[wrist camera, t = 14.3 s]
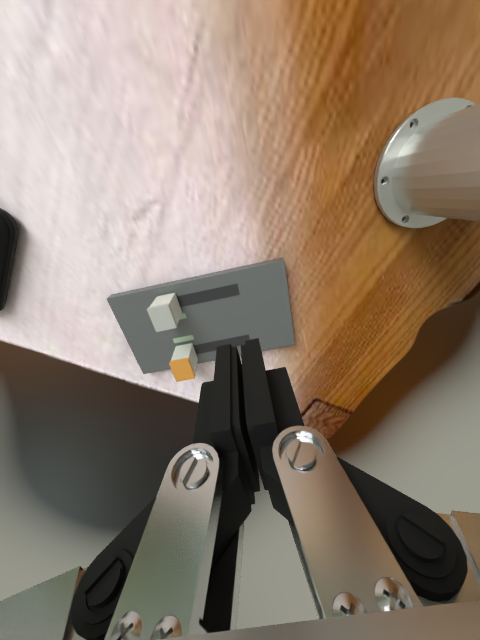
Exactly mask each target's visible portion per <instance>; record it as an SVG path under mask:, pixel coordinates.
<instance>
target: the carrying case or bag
mask: <svg viewBox="0 0 480 640" xmlns="http://www.w3.org/2000/svg"><path fill="white" fill-rule="evenodd" d="M17 239H18V226H17V224H16V222H15V220H14V219H13V217H12V216H11V215H10V214H9V213H7V212H6V211H4V210H3V209H1V208H0V311H1V310H2V309H3V308H4V306H5V303H6V298H7V293H8V288H9V282H10V277H11V271H12V266H13V261H14V255H15V250H16V245H17Z"/></svg>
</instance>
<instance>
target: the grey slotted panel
mask: <svg viewBox="0 0 480 640" xmlns="http://www.w3.org/2000/svg"><path fill="white" fill-rule="evenodd" d="M171 293H175V294H176V297H177V299H178V302H179V305H180V308H181V311H182V314H181V317H180V319H179V322H178V324H177V325H178V326H177V328H174V329H169V330H164V331H159V332H156V330H155V328H154V326H153V323H152V321H151V319H150V316H149V314H148V311H147V309H148V307H150V305H151V304H152V303H153V301H154V300H155V298H156V297H157V296H161V295H166V294H171ZM107 301H108V303H109V305H110V307H111V309H112V311H113V313H114V315H115V317H116V319H117V321H118V323H119V325H120V327H121V329H122V331H123V333H124V335H125V337H126V339H127V341H128V343H129V345H130V348H131V350H132V352H133V354H134V356H135V358H136V360H137V362H138V364H139V366H140V368H141V370H142V372H143V374H146V373H151V372H156V371H161V370H167V369H171V367H170V365H169V363H170V361H171V358H172V356H173V353H174V350H175V347H176V346H180V345H184V344H189V343H192V344H193V346H194V349H195V352H196V355H197V358H198V362H197V363H202V362H207V361H213V360H216V350H217V346H221V345H226V344H231V345H232V347H234V346H237V349H238V352H239V355H241V345H245V344H246V343H245V341H246V340H251V339H256V338H259V342H260V346H261V351H264V350H269V349H274V348H279V347H284V346H289V345H294V344H295V341H294V333H293V325H292V317H291V310H290V302H289V294H288V286H287V278H286V270H285V262H284V260H283V258H279V259H274V260H270V261H265V262H260V263H256V264H251V265H247V266H242V267H237V268H233V269H228V270H223V271H219V272H214V273H210V274H205V275H200V276H196V277H191V278H187V279H182V280H177V281H173V282H168V283H164V284H159V285H154V286H150V287H145V288H140V289H136V290H131V291H127V292H122V293H117V294H113V295H111V296H109V297H108V298H107Z"/></svg>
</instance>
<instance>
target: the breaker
mask: <svg viewBox="0 0 480 640" xmlns="http://www.w3.org/2000/svg"><path fill="white" fill-rule="evenodd" d="M147 311H148V314H149V316H150V319H151V321H152V323H153V326H154V328H155V330H156V332H159V331H164V330H169V329H174V328H177V326H178V325H177V324H178V322H179V319H180V317H181V314H182V311H181V308H180V305H179V302H178V299H177V297H176V294H175V293H171V294H166V295H161V296H157V297H156V298H155V300H154V301H153V303H152V304H151V305H150V307H148V309H147Z"/></svg>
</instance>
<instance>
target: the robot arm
mask: <svg viewBox="0 0 480 640" xmlns="http://www.w3.org/2000/svg"><path fill="white" fill-rule="evenodd" d="M410 125H411V126H410ZM381 180H382V183H381ZM374 194H375V199H376V202H377V205H378V207H379V209H380V211H381V212H382V214H383V215H384V216H385V217H386V218H387V219H388V220H389V221H391V222H392V223H394V224H396V225H399V226H402V227H407V228H424V227H429V226H432V225H435V224H437V223H440V222H442V221H444V220H445V219H447V218H452V219H461V220H470V221H480V103H479V104H476V103H474V102H472V101H470V100H467V99H464V98H456V97H453V98H445V99H441V100H438V101H435V102H432V103H430V104H428V105H426V106H424V107H422V108H420V109H418V110H417V111H415V112H414V113H412V114H411V115H410V116H408V117H407V118H406V119H405V120H404V121H403V122H402V123H401V124H400V125H399V126H398V127H397V128H396V130H395V131H394V132H393V133H392V135H391V136H390V137H389V139H388V141H387V142H386V144H385V146H384V148H383V149H382V152H381V154H380V157H379V159H378V162H377V166H376V170H375V175H374ZM245 343H246V344H245V345H241V358H242V364H241V360H240V356H239V352H238V349H237V346H234V347H232V345H231V344H226V345H221V346H217V350H216V361H215V373H214V381H210V382H204V383H203V384H202V386H201V392H200V399H199V406H198V412H197V419H196V426H195V433H194V440H193V444H192V445H189V446H187V447H185V448H183V449H182V450H181V451H179V452H178V453H177V454H176V455H175V457H174V458H173V459H172V460H171V462H170V464H169V466H168V468H167V470H166V473H165V475H164V479H163V481H162V484H161V486H160V489H159V492H158V495H157V496H156V497H155V498H154V499H153V500H152V501H151V502H150V503H149V504H148V505H147V506H146V507H145V508H144V509H143V510H142V511H141V512H140V513H139V514H138V515H137V516H136V517H135V518H134V519H133V520H132V521H131V522H130V523H129V525H127V526H126V528H124V529H123V531H122V532H121V533H120V534H119V535H118V536H117V537H116V538H115V539H114V540H113V541H112V542H111V543H110V544H109V545H108V546H107V547H106V548H105V549H104V550H103V551H102V552H101V553H100V554H99V555H98V556H97V557H96V558H95V559H94V561H93V562H92V563H91V564H90V566H89V567H87V568H85V569H83V568H81V567H80V566H79V567H76V568H74V569H72V570H70V571H67V572H65V573H63V574H61V575H58V576H56V577H54V578H51V579H49V580H47V581H45V582H42V583H40V584H38V585H36V586H33V587H31V588H29V589H26V590H24V591H22V592H20V593H17V594H15V595H13V596H11V597H8V598H6V599H4V600H2V601H0V640H480V514H478V513H469V512H459V511H452V512H451V515H448V514H439V513H435V512H433V511H432V510H431V509H429V508H428V507H426V506H424V505H422V504H421V503H419V502H417V501H415V500H414V499H412V498H410V497H408V496H406V495H405V494H403V493H401V492H399V491H397V490H396V489H394V488H392V487H390V486H389V485H387V484H385V483H383V482H381V481H380V480H378V479H376V478H374V477H372V476H371V475H369V474H367V473H365V472H364V471H362V470H360V469H358V468H356V467H355V466H353V465H351V464H349V463H348V462H346V461H344V460H342V459H340V458H339V457H337V456H336V455H335V454H334V452H333V450H332V449H331V447H330V445H329V443H328V442H327V440H326V439H325V438H324V437H323V435H322V434H321V433H319V432H318V431H316V430H315V429H312V428H310V427H307V426H304V423H303V420H302V417H301V413H300V410H299V407H298V404H297V401H296V398H295V395H294V392H293V389H292V386H291V382H290V379H289V376H288V373H287V370H286V368H285V367H283V368H278V369H272V370H267V371H265V366H264V361H263V356H262V351H261V346H260V342H259V338H256V339H251V340H246V341H245ZM258 468H259V472H260V475H261V479H262V482H263V485H264V489H265V490H268V491H269V494H270V498H271V501H272V505H273V508H274V509H276V510H277V511H278V512H279V513H280V514H282V515H283V516H284V517H285V518H286V519H287V520H288V521H289V525H290V528H291V531H292V535H293V538H294V541H295V544H296V548H297V551H298V554H299V557H300V560H301V564H302V567H303V570H304V573H305V576H306V580H307V583H308V586H309V589H310V592H311V596H312V599H313V602H314V605H315V609H316V612H317V615H318V618H319V619H318V620H310V621H302V622H293V623H286V624H278V625H270V626H262V627H254V628H246V629H238V630H236V629H237V628H236V627H237V616H238V615H237V614H238V603H239V590H240V577H241V565H242V551H243V538H244V521H245V519H246V518H247V516H248V515H249V514H250V512H251V504H255V497H254V492H257V491H260V484H259V474H258Z"/></svg>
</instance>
